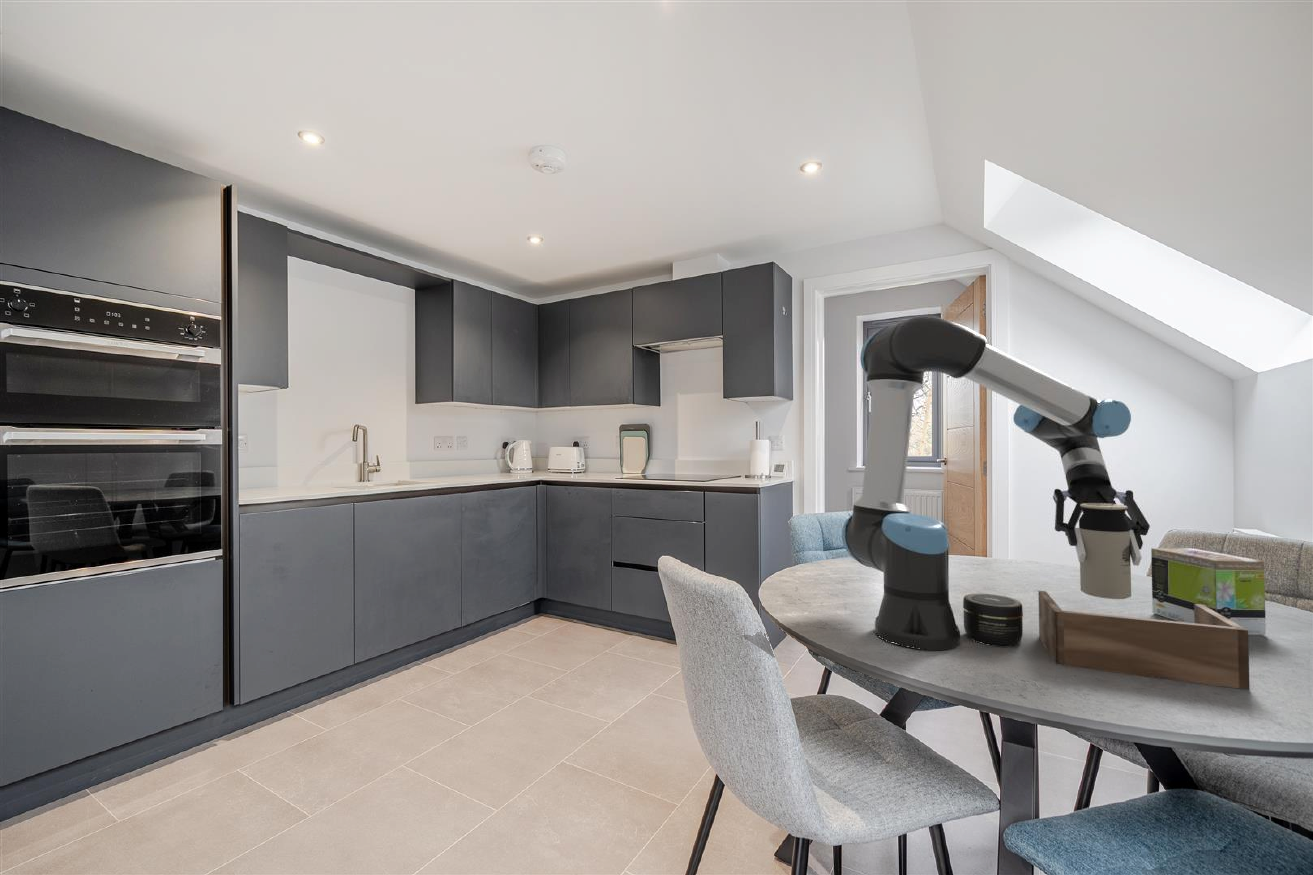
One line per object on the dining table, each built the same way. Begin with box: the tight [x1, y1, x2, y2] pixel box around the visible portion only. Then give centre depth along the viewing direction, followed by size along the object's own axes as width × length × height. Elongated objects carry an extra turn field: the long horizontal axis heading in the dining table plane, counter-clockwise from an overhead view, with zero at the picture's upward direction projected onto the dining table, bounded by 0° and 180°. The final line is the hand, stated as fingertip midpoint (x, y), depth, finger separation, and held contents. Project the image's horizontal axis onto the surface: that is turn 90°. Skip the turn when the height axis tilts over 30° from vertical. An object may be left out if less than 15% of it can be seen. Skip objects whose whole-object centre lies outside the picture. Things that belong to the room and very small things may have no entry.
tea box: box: [1150, 547, 1267, 636], centre depth 117 cm, size 15×10×15 cm
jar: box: [962, 593, 1024, 647], centre depth 109 cm, size 10×10×8 cm
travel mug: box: [1078, 503, 1132, 600], centre depth 113 cm, size 8×8×18 cm
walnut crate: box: [1037, 590, 1251, 691], centre depth 98 cm, size 15×24×9 cm, turn 65°
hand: (1109, 559), depth 110 cm, fingers closed on travel mug, 8 cm apart
